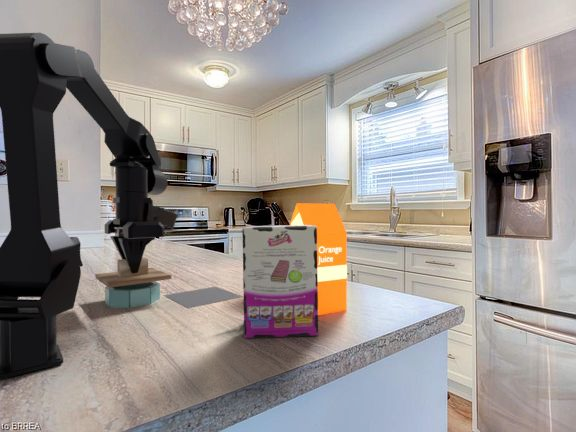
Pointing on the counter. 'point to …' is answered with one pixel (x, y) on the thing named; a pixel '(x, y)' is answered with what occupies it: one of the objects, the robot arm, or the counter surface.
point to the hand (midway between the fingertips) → (132, 272)
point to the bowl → (132, 295)
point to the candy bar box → (280, 281)
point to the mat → (202, 297)
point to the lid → (131, 275)
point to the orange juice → (327, 254)
